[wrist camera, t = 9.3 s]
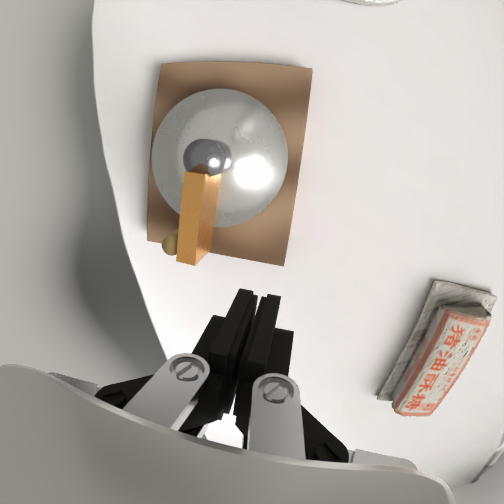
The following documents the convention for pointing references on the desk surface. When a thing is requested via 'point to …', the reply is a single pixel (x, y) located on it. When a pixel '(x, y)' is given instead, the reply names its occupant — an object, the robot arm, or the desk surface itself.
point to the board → (293, 125)
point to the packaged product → (438, 348)
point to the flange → (217, 164)
